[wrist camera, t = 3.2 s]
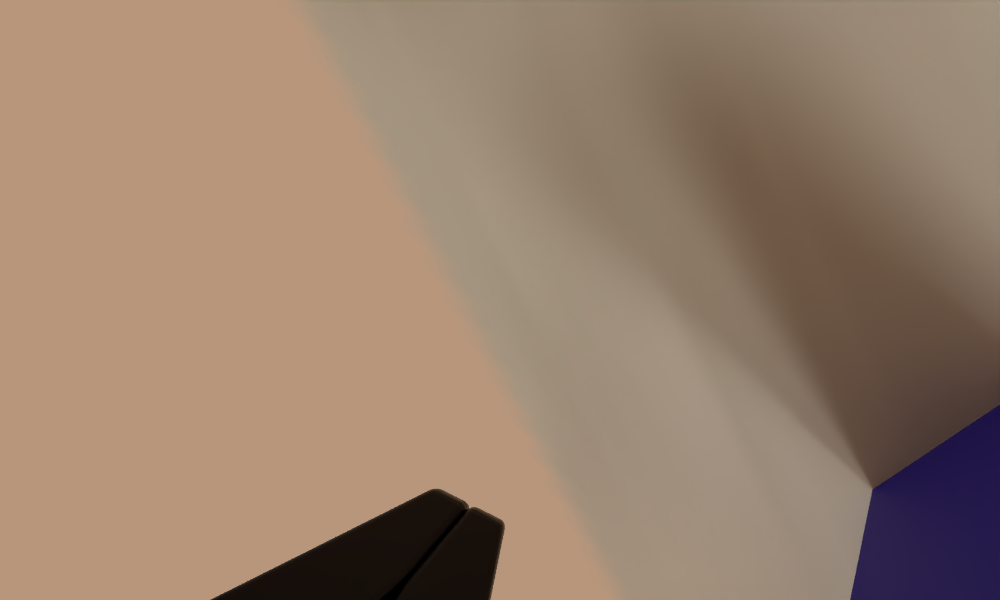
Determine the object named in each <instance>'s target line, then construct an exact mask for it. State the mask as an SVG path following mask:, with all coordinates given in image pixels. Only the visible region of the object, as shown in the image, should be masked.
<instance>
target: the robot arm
mask: <svg viewBox="0 0 1000 600" xmlns="http://www.w3.org/2000/svg"><path fill="white" fill-rule="evenodd" d="M504 529H505V525H504V522H503V521H502V520H501V519H499V518H497V517H495V516H493V515H491V514H489V513H487V512H485V511H483V510H481V509H479V508H476V507H472V508H470V509H469V506H468V504H467V503H466V502H465V501H463V500H461V499H459V498H457V497H455V496H453V495H451V494H449V493H447V492H445V491H443V490H441V489H432V490H429V491H427V492H425V493H423V494H421V495H419V496H417V497H415V498H413V499H411V500H409V501H407V502H405V503H403V504H401V505H399V506H397V507H395V508H394V509H391V510H389V511H388V512H385V513H383V514H382V515H379V516H377V517H375V518H373V519H371V520H369V521H367V522H365V523H363V524H361V525H359V526H357V527H355V528H353V529H351V530H349V531H347V532H345V533H343V534H341V535H339V536H337V537H335V538H333V539H331V540H329V541H327V542H325V543H323V544H321V545H319V546H317V547H316V548H313V549H312V550H309V551H307V552H305V553H303V554H301V555H299V556H297V557H295V558H293V559H291V560H289V561H287V562H285V563H284V564H281V565H279V566H277V567H275V568H273V569H272V570H269V571H267V572H265V573H263V574H261V575H259V576H257V577H255V578H253V579H251V580H250V581H247V582H245V583H244V584H241V585H239V586H237V587H235V588H233V589H232V590H229V591H227V592H225V593H223V594H221V595H219V596H217V597H215V598H213V599H211V600H490V598H491V594H492V589H493V584H494V579H495V574H496V569H497V564H498V559H499V554H500V549H501V544H502V539H503V534H504Z"/></svg>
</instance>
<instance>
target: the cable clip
mask: <svg viewBox="0 0 1000 600" xmlns="http://www.w3.org/2000/svg"><path fill="white" fill-rule="evenodd" d="M850 600H1000V405H999V406H997V407H996V408H994V409H993V410H991V411H990V412H988V413H987V414H985V415H984V416H982V417H981V418H979V419H978V420H976V421H975V422H973V423H972V424H970V425H969V426H967V427H966V428H964V429H963V430H961V431H960V432H958V433H957V434H955V435H954V436H952V437H951V438H949V439H948V440H946V441H945V442H943V443H942V444H940V445H939V446H937V447H936V448H934V449H933V450H931V451H930V452H928V453H927V454H925V455H924V456H922V457H921V458H919V459H918V460H916V461H915V462H913V463H912V464H910V465H909V466H907V467H906V468H904V469H903V470H901V471H900V472H898V473H897V474H895V475H894V476H892V477H891V478H889V479H888V480H886V481H885V482H883V483H882V484H880V485H879V486H877V487H876V488H874V489H873V491H872V496H871V501H870V506H869V510H868V515H867V520H866V525H865V530H864V535H863V540H862V545H861V550H860V555H859V560H858V565H857V570H856V575H855V579H854V584H853V589H852V594H851V599H850Z"/></svg>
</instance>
